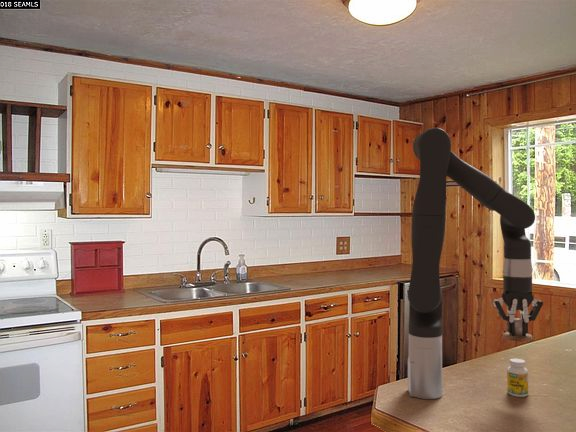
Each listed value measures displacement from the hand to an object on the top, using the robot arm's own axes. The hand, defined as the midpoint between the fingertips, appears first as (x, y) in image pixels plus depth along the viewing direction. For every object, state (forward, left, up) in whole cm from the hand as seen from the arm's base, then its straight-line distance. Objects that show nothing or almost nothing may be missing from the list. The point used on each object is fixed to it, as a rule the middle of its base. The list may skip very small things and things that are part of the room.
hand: (517, 334), depth 144 cm
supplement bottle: (0, 0, -17) cm, 17 cm away
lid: (0, 0, -1) cm, 1 cm away
